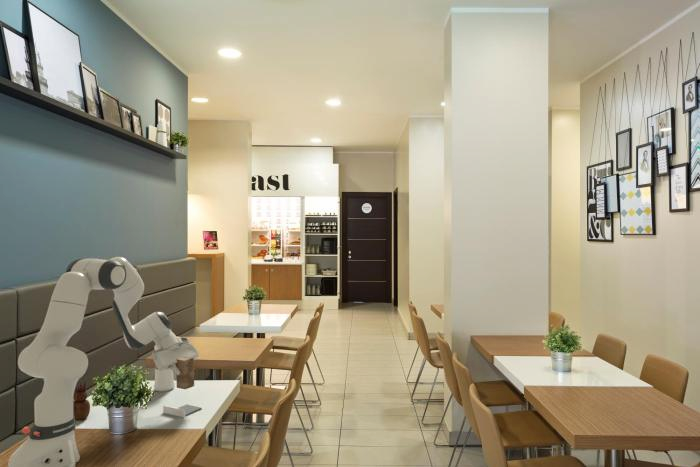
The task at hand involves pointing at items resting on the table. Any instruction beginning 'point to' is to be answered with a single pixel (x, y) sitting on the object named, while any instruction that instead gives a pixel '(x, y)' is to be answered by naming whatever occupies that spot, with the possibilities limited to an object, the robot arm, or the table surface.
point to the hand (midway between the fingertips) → (186, 371)
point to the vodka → (163, 379)
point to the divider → (174, 411)
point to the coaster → (190, 409)
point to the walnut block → (185, 372)
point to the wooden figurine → (81, 403)
